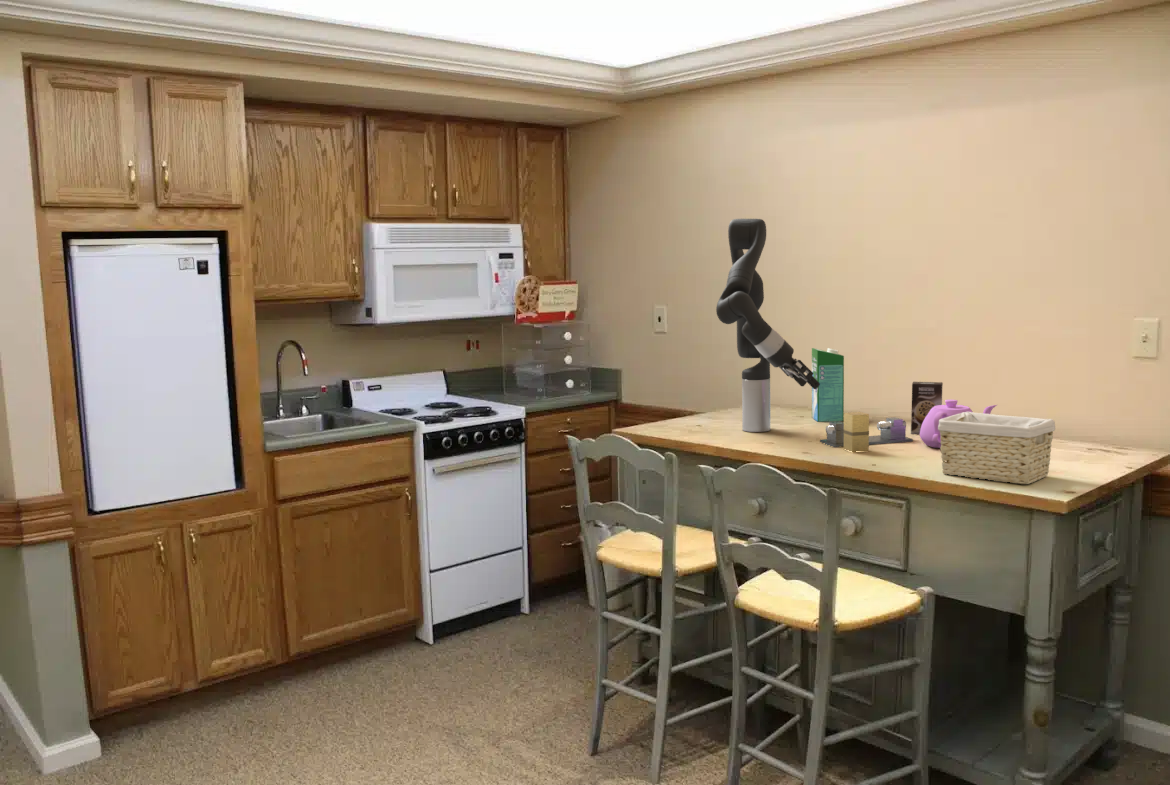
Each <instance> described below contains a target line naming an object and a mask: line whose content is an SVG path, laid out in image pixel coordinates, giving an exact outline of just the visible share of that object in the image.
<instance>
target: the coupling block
mask: <svg viewBox="0 0 1170 785" xmlns="http://www.w3.org/2000/svg"><path fill="white" fill-rule="evenodd" d="M843 423H844V430H843V433H844V447H843V450H844V449H846V450H849V451H852V452H856V451H869V450H870V449H869V448H870V447H869V446H870V445H869V436H870V414H869V413H866V412H862V411H853V412H852V411H851V412H844V421H843ZM846 450H845V451H846ZM869 452H870V451H869Z"/></svg>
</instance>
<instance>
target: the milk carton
mask: <svg viewBox="0 0 1170 785" xmlns="http://www.w3.org/2000/svg"><path fill="white" fill-rule="evenodd" d="M844 366H845V356H844V355H842V354H839V350H838V349H833V348H830V347H827V350H823V349H818V348H814V347H812V348H811V371H812V372H813V375H812V376H813V377H814V378H815V379H816V380H817V381H818V382H819V383H820V385H819V387H818V388H817V389H813V388H812V387H811V418H812V419H813V420H814V421H816V422H817V423H821V422H822V423H826V422H834V421H840V422H844V413H845V412H844V408H845V407H844V403H845V402H844V401H845V398H844V397H845V395H844V394H845V391H844V390H845V388H844V387H845V381H844V380H845V372H844V371H845V367H844Z"/></svg>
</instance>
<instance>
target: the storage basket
mask: <svg viewBox="0 0 1170 785" xmlns="http://www.w3.org/2000/svg"><path fill="white" fill-rule="evenodd" d="M938 430H940V435H941V444H942V445H941V448H940V452H941V456H940V457H941V458H940V459H941V461H942V462H941V468H942V473H944V475H947V474H950V475H949V476H951V475H958V476H957V477H961V476H965V477H964V478H966V477H967V478H968V477H971V478H970V479H972V478H979V479H980V480H985V479H988V480H987V481H990V480H994V481H993V482H1003V483H1007V482H1010V483H1012V484H1021V485H1030V484H1032V483H1034V482H1037V481H1040V480H1041V479H1043V478H1045V477H1047V476H1048V475H1049V471H1050V470H1049V469H1050V465H1051V463H1050V461H1051V451H1052V441H1053V436H1054V435H1053V434H1054V432H1055V431H1056V422H1055V420H1054V419H1053V418H1039V417H1027V416H1015V415H1014V416H1013V415H1003V414H1002V415H1001V414H993V413H990V414H984V413H983V412H963V413H960V414H956V415H952V416H949V417H946V418H943V419H940V420H939V425H938ZM995 480H996V481H995Z"/></svg>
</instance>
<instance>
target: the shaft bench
mask: <svg viewBox="0 0 1170 785" xmlns="http://www.w3.org/2000/svg"><path fill="white" fill-rule="evenodd" d="M906 427H907V422H906V420H904V419H902V418H900V417H896V416H894V417H886V419H885V421H879V422H877V424H876V429H877V430H878V431H880V434H878V435H869V446H871V445H872V446H873V445H884V444H897V443H909V442H910V443H911V442H913V440H914V439H913V438H911V437H907V436H906V431H907V430H906ZM843 430H844V421H830V422H829V425H826V426H825V433H826V438H825V439H820V440H819V443H820V442H822V443H821V444H823V443H825V444H824V445H826V444H827V445H826V446H828V445H830V446H829V447H831V446H833V447H834V448H840V447H839V446H844V433H843ZM833 447H832V448H833Z"/></svg>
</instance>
